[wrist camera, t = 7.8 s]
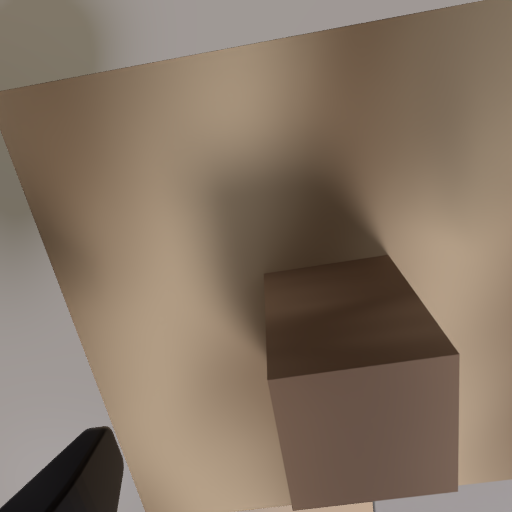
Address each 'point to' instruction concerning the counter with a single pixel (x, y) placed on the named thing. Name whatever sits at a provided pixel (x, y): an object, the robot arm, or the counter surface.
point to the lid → (290, 258)
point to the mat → (456, 500)
